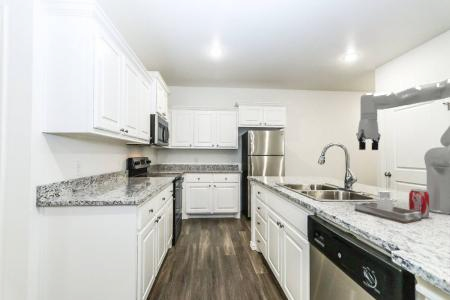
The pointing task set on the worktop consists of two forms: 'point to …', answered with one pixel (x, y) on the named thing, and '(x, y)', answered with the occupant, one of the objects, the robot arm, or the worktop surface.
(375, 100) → the robot arm
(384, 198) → the downlight
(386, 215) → the silver picture frame
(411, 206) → the soda can
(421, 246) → the worktop surface
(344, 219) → the worktop surface
